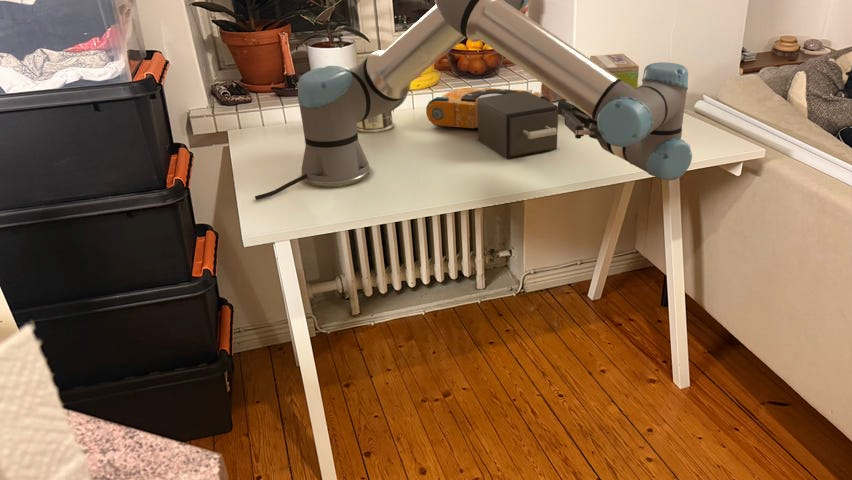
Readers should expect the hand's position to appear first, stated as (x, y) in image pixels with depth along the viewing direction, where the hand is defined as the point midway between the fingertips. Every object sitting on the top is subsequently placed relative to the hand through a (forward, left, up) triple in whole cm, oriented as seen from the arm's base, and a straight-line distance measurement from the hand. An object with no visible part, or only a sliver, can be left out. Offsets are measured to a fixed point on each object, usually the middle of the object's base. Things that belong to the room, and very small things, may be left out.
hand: (560, 107), depth 152 cm
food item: (+33, +51, -15) cm, 63 cm away
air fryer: (0, +20, -15) cm, 25 cm away
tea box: (+36, +31, -15) cm, 50 cm away
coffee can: (-27, +52, -15) cm, 61 cm away
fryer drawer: (0, +16, -14) cm, 21 cm away
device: (+3, +41, -15) cm, 44 cm away
